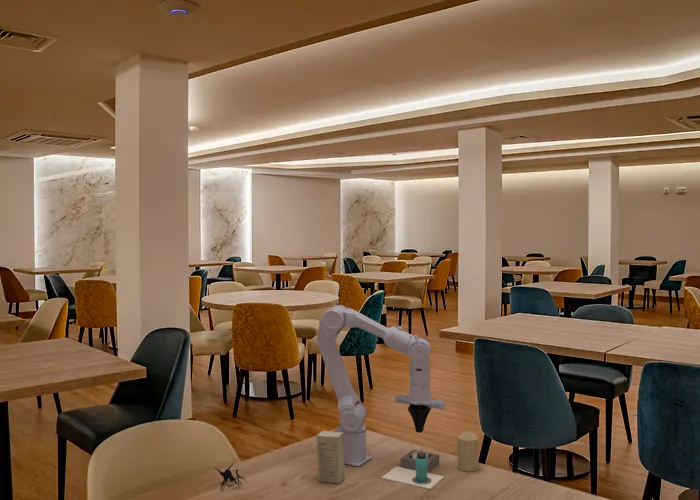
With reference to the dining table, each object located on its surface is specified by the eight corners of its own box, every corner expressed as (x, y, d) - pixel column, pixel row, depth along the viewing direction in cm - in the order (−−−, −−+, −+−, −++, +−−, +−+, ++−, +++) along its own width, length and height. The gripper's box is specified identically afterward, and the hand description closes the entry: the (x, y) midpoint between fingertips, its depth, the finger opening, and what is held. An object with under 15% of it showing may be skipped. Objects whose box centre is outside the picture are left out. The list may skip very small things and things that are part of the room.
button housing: (400, 467, 173) (400, 458, 173) (413, 458, 179) (413, 449, 179) (427, 473, 168) (427, 463, 168) (439, 463, 175) (439, 454, 175)
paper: (381, 478, 165) (381, 476, 165) (396, 467, 173) (396, 465, 173) (430, 489, 158) (430, 488, 158) (444, 477, 165) (444, 476, 165)
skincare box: (345, 478, 165) (345, 432, 165) (339, 484, 161) (339, 437, 161) (322, 475, 167) (322, 429, 167) (316, 481, 163) (316, 434, 163)
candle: (478, 472, 169) (478, 435, 169) (457, 471, 170) (457, 434, 170) (478, 465, 174) (478, 429, 174) (457, 463, 175) (458, 428, 175)
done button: (409, 465, 173) (409, 455, 173) (416, 460, 177) (416, 450, 177) (424, 468, 171) (424, 457, 171) (430, 463, 175) (430, 453, 175)
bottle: (413, 480, 162) (413, 454, 162) (418, 477, 165) (419, 450, 165) (424, 483, 161) (424, 456, 160) (429, 479, 163) (429, 452, 163)
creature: (252, 489, 161) (234, 474, 166) (255, 470, 160) (236, 456, 165) (227, 498, 155) (209, 483, 161) (230, 479, 154) (211, 464, 160)
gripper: (389, 382, 174) (389, 431, 174) (438, 389, 167) (438, 440, 167) (401, 377, 180) (401, 424, 180) (448, 383, 173) (448, 432, 173)
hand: (419, 431), depth 174 cm, fingers closed
